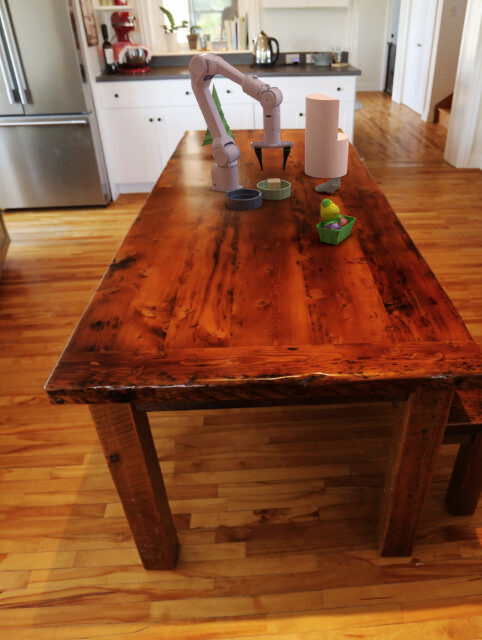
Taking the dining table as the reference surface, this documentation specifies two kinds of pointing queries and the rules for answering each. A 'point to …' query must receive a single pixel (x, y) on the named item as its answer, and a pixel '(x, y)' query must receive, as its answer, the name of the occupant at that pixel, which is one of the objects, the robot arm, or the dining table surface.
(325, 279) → the dining table surface
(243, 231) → the dining table surface
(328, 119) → the cylinder
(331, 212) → the fruit basket
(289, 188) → the sage bowl
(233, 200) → the slate bowl
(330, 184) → the stone
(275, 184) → the block
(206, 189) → the dining table surface
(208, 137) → the decorative tree
